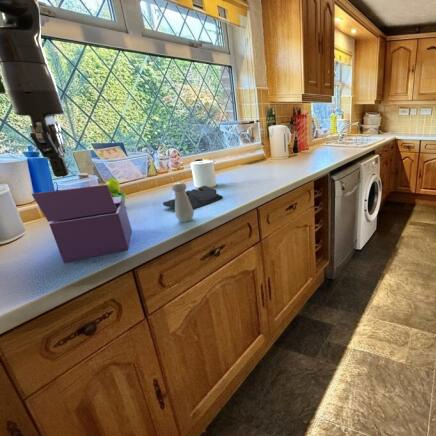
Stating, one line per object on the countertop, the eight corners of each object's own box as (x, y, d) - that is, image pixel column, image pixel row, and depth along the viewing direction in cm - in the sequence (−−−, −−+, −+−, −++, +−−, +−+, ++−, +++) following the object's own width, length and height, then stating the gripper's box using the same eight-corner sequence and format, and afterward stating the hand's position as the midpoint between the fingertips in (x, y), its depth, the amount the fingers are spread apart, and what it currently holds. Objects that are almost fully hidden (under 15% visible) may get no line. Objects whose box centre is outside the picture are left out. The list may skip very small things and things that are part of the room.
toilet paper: (190, 187, 150) (185, 163, 146) (208, 182, 158) (204, 159, 154) (203, 189, 145) (199, 164, 141) (221, 184, 153) (217, 160, 149)
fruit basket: (93, 208, 121) (84, 180, 117) (115, 202, 128) (108, 176, 125) (110, 211, 116) (101, 182, 112) (132, 205, 124) (125, 177, 120)
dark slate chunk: (157, 208, 117) (154, 197, 116) (199, 194, 136) (197, 184, 134) (186, 212, 111) (183, 200, 110) (226, 197, 130) (225, 186, 129)
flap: (117, 210, 78) (117, 211, 78) (48, 220, 72) (48, 222, 72) (107, 184, 73) (107, 185, 73) (31, 193, 67) (31, 194, 66)
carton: (128, 249, 82) (117, 210, 78) (63, 263, 76) (47, 220, 72) (131, 230, 96) (122, 196, 92) (77, 240, 90) (64, 203, 86)
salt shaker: (189, 216, 107) (181, 180, 103) (198, 219, 104) (191, 182, 100) (173, 221, 103) (165, 184, 98) (182, 224, 99) (174, 185, 95)
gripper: (19, 92, 63) (48, 173, 69) (-8, 87, 53) (29, 184, 58) (64, 91, 67) (88, 169, 73) (47, 87, 56) (77, 178, 62)
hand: (62, 175), depth 66 cm, fingers closed
